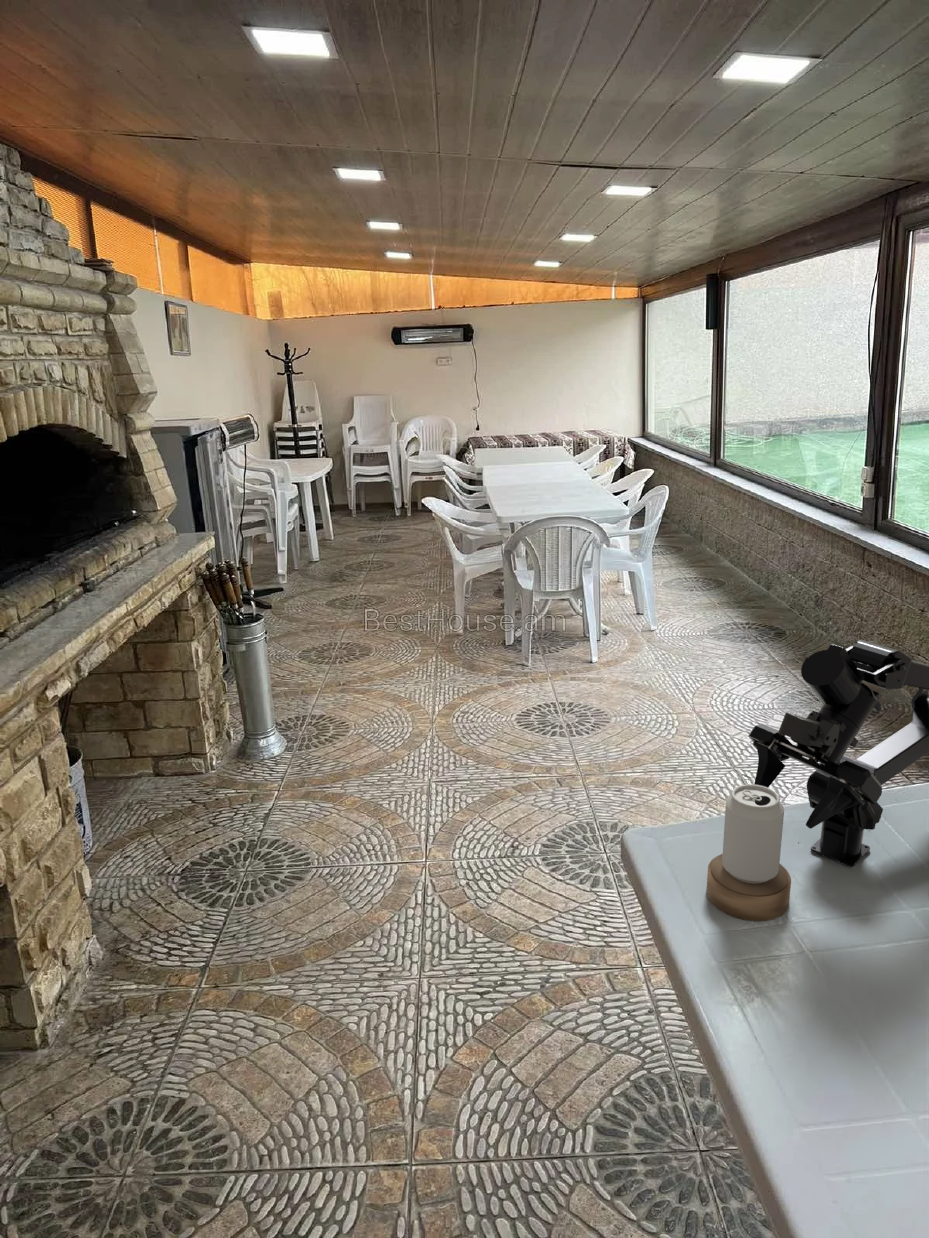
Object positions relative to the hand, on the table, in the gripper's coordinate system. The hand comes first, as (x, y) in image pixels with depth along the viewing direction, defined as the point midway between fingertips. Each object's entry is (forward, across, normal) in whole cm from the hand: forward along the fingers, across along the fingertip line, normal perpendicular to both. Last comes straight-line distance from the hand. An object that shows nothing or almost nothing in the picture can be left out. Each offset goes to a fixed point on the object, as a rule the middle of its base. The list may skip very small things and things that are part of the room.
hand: (780, 812), depth 119 cm
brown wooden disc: (+12, 0, +4) cm, 13 cm away
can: (+9, 0, +2) cm, 9 cm away
